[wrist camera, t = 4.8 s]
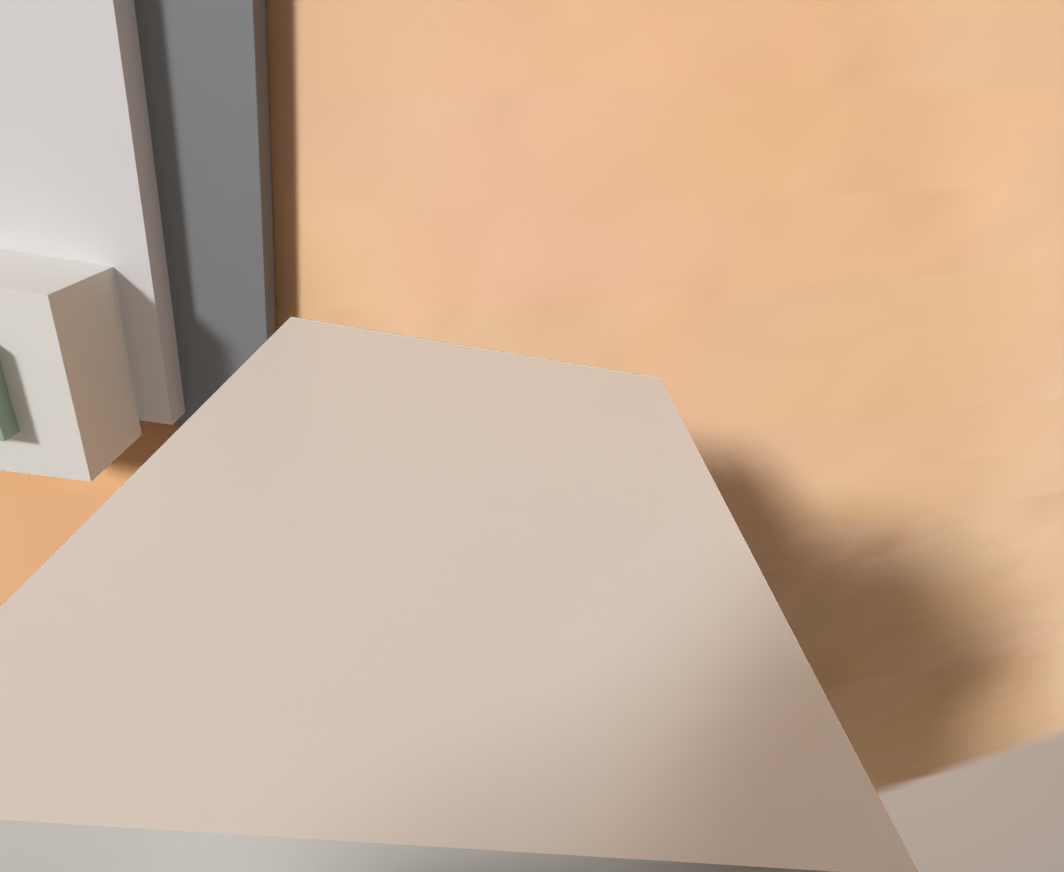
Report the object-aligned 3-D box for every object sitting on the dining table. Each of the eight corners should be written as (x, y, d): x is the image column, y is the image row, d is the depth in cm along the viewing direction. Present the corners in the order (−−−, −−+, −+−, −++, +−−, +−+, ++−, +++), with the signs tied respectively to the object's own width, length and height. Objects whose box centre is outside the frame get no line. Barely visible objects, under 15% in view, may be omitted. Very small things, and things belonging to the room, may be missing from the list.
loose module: (660, 377, 8) (960, 951, 3) (556, 694, 12) (595, 1224, 6) (290, 316, 8) (-286, 896, 2) (297, 668, 11) (87, 1233, 6)
